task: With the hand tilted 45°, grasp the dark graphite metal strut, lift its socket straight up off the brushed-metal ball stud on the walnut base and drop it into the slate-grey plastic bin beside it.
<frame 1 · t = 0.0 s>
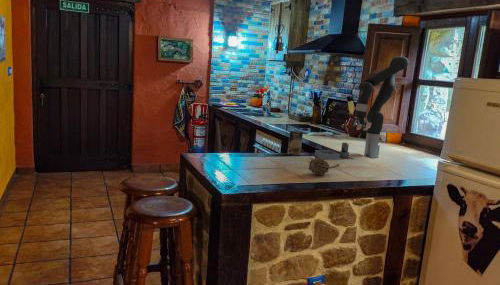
hand: (357, 133, 296), 17 cm above the table, tool pointing down, fingers open, 8 cm apart
metal strut: (343, 157, 285), point 1 cm above the table, touching stud base
slate bin: (326, 159, 281), on the table
stud base: (343, 159, 285), on the table
coffee box: (294, 154, 291), on the table
pine cone: (323, 174, 239), on the table
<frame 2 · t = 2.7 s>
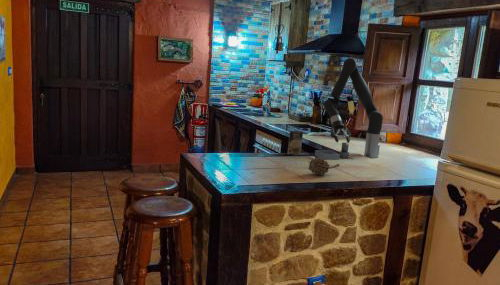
hand: (343, 141, 286), 12 cm above the table, tool tilted 45°, fingers open, 8 cm apart
nothing on the table moved.
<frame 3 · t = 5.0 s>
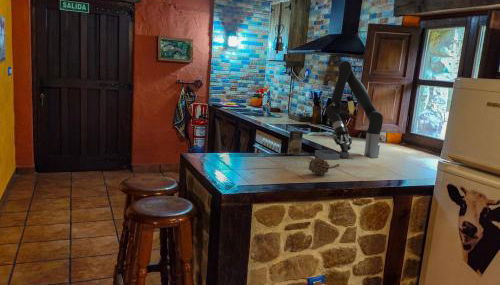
hand: (346, 149, 282), 8 cm above the table, tool tilted 45°, fingers closed on metal strut, 4 cm apart
metal strut: (343, 157, 285), point 2 cm above the table, touching gripper, stud base
everything else where it was.
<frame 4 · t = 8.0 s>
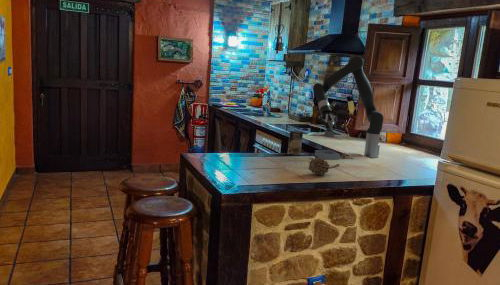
hand: (331, 128, 276), 22 cm above the table, tool tilted 45°, fingers closed on metal strut, 4 cm apart
metal strut: (328, 136, 279), point 16 cm above the table, touching gripper
everything else where it was.
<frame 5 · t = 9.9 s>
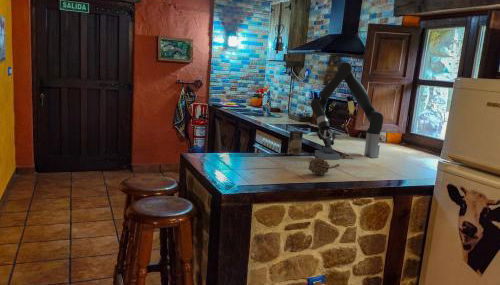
hand: (329, 144, 278), 11 cm above the table, tool tilted 45°, fingers closed on metal strut, 4 cm apart
metal strut: (327, 152, 280), point 5 cm above the table, touching gripper
everything else where it was.
when the fingers open (9 cm above the table, at t = 11.2 s): metal strut drops 1 cm, resting on slate bin.
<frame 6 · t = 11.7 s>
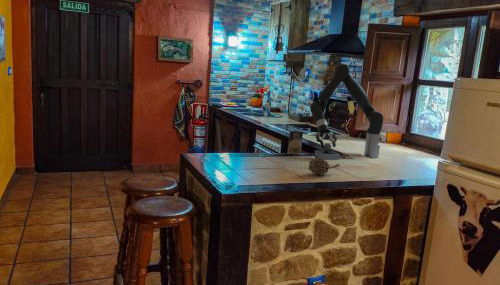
hand: (329, 146, 278), 9 cm above the table, tool tilted 45°, fingers open, 8 cm apart
metal strut: (326, 158, 281), point 1 cm above the table, touching slate bin
everything else where it was.
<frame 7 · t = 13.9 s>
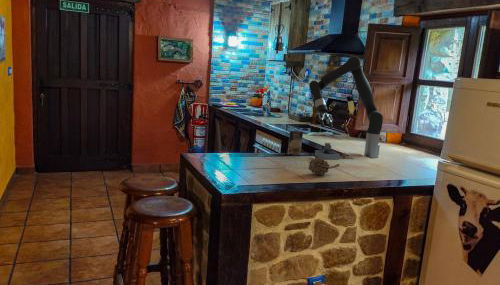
hand: (327, 126, 289), 21 cm above the table, tool tilted 35°, fingers open, 8 cm apart
nothing on the table moved.
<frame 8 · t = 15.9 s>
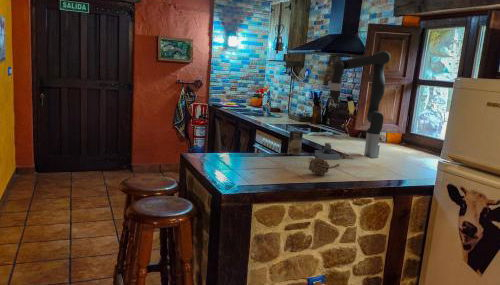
hand: (332, 112, 296), 30 cm above the table, tool pointing down, fingers open, 8 cm apart
nothing on the table moved.
at the end: metal strut inside the target area on the slate bin (0.1 cm from its centre), point 1.0 cm above the slate bin's base; the gripper is holding nothing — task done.
